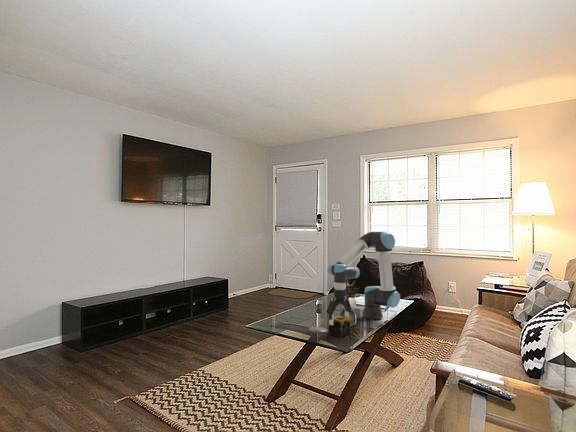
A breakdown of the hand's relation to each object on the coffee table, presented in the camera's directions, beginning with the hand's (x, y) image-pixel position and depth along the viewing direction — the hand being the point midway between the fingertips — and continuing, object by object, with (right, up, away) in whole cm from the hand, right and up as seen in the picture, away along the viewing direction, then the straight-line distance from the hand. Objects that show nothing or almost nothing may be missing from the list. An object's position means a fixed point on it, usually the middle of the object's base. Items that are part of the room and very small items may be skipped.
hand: (339, 323), depth 213 cm
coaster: (-13, -7, +7) cm, 16 cm away
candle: (0, -7, 0) cm, 7 cm away
